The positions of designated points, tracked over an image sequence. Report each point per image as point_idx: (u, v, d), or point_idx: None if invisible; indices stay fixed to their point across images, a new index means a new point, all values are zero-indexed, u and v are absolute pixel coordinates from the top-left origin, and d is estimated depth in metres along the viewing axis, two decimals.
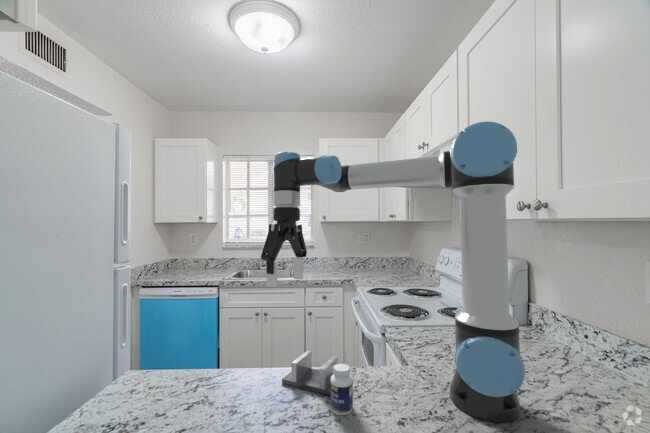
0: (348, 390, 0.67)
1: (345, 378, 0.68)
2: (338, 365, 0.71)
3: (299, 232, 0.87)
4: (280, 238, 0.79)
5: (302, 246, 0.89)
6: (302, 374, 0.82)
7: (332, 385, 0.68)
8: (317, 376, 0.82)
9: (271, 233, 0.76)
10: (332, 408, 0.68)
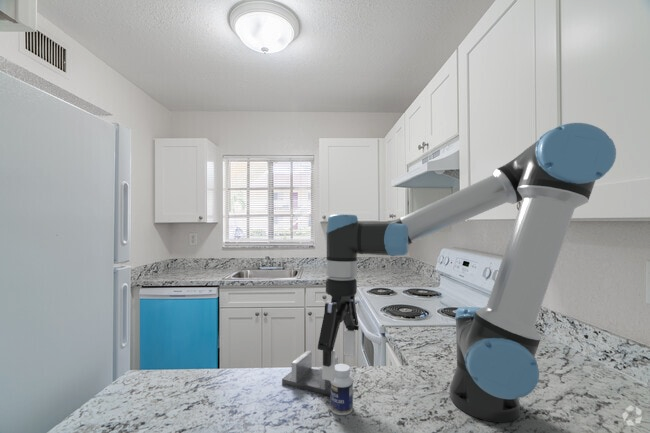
0: (348, 390, 0.67)
1: (345, 378, 0.68)
2: (338, 365, 0.71)
3: (352, 302, 0.76)
4: (336, 318, 0.67)
5: (354, 317, 0.77)
6: (302, 374, 0.82)
7: (332, 385, 0.68)
8: (317, 376, 0.82)
9: (328, 316, 0.64)
10: (332, 408, 0.68)
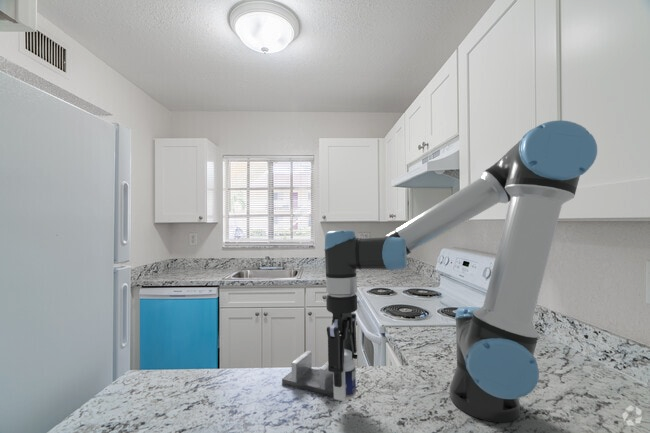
0: (351, 374, 0.67)
1: (347, 363, 0.68)
2: None
3: (352, 322, 0.74)
4: (340, 338, 0.67)
5: (353, 341, 0.74)
6: (302, 374, 0.82)
7: None
8: (317, 376, 0.82)
9: (332, 340, 0.65)
10: None
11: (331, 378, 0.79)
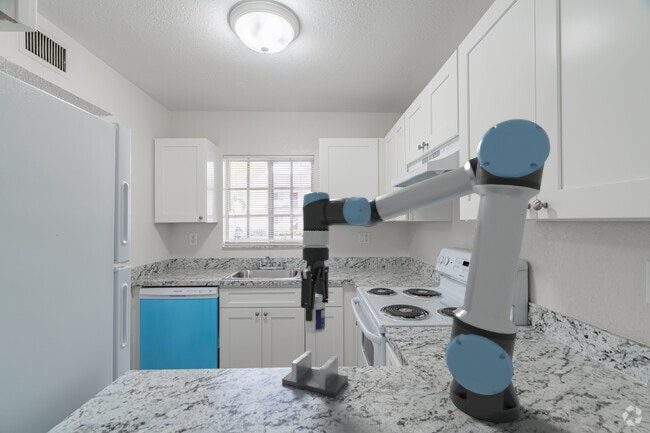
0: (320, 312, 0.80)
1: (318, 303, 0.81)
2: None
3: (325, 273, 0.87)
4: (312, 282, 0.80)
5: (325, 289, 0.87)
6: (302, 374, 0.82)
7: None
8: (317, 376, 0.82)
9: (305, 281, 0.77)
10: None
11: (331, 378, 0.79)
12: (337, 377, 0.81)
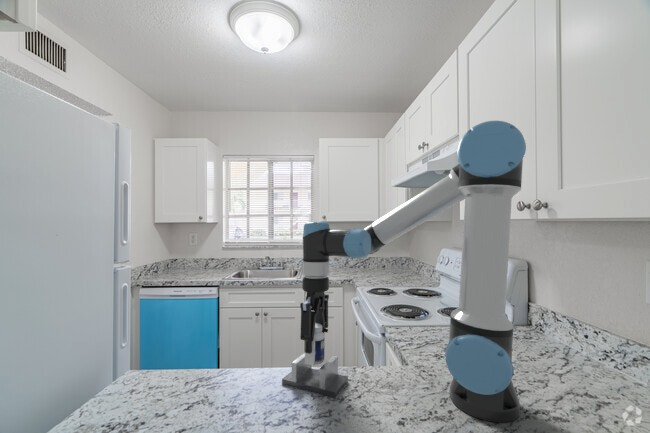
0: (320, 343, 0.80)
1: (317, 334, 0.80)
2: None
3: (325, 302, 0.86)
4: (312, 313, 0.79)
5: (325, 318, 0.86)
6: (302, 374, 0.82)
7: None
8: (317, 376, 0.82)
9: (304, 313, 0.77)
10: None
11: (331, 378, 0.79)
12: (337, 377, 0.81)
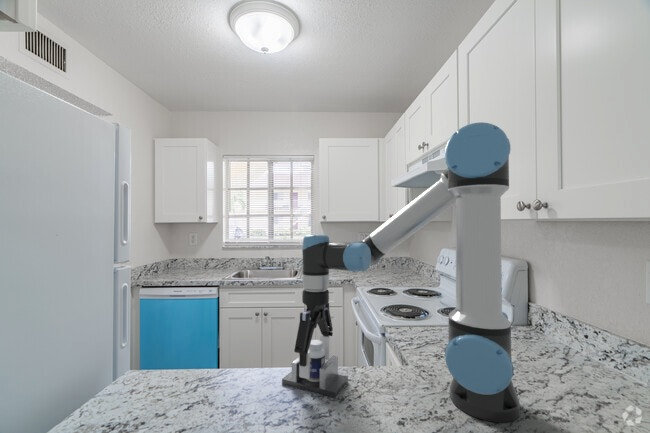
0: (320, 361, 0.79)
1: (318, 351, 0.80)
2: (313, 340, 0.83)
3: (326, 310, 0.87)
4: (310, 325, 0.78)
5: (328, 324, 0.88)
6: None
7: None
8: None
9: (303, 323, 0.76)
10: None
11: (331, 378, 0.79)
12: (337, 377, 0.81)
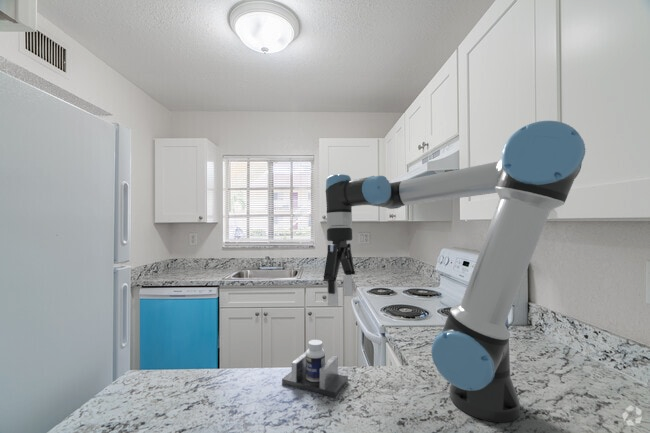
0: (320, 361, 0.79)
1: (318, 351, 0.80)
2: (313, 340, 0.83)
3: (348, 250, 0.91)
4: (337, 258, 0.82)
5: (350, 264, 0.92)
6: (302, 374, 0.82)
7: (307, 357, 0.80)
8: None
9: (331, 254, 0.79)
10: (307, 376, 0.80)
11: (331, 378, 0.79)
12: (337, 377, 0.81)
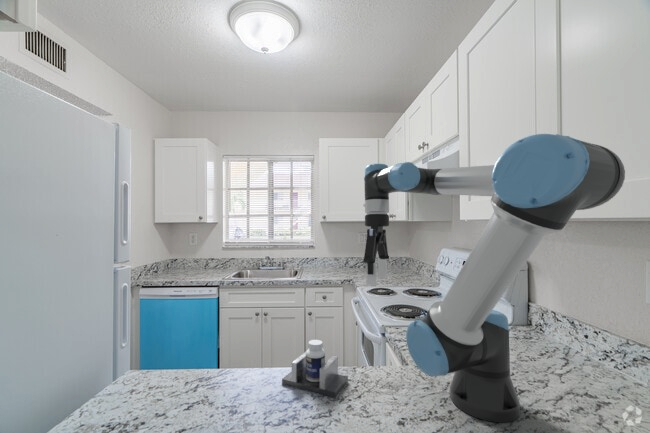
0: (320, 361, 0.79)
1: (318, 351, 0.80)
2: (313, 340, 0.83)
3: (384, 236, 0.96)
4: (375, 242, 0.87)
5: (385, 249, 0.98)
6: (302, 374, 0.82)
7: (307, 357, 0.80)
8: None
9: (370, 238, 0.85)
10: (307, 376, 0.80)
11: (331, 378, 0.79)
12: (337, 377, 0.81)
